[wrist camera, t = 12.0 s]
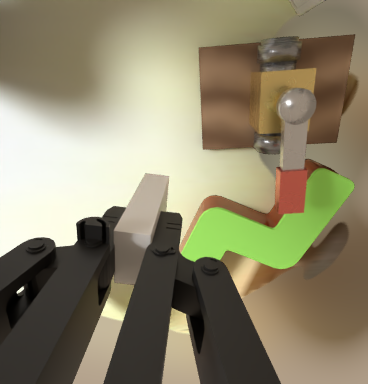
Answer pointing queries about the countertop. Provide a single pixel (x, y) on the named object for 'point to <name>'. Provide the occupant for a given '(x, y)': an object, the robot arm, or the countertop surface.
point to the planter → (267, 223)
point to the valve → (275, 88)
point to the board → (240, 89)
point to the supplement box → (304, 5)
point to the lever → (293, 149)
